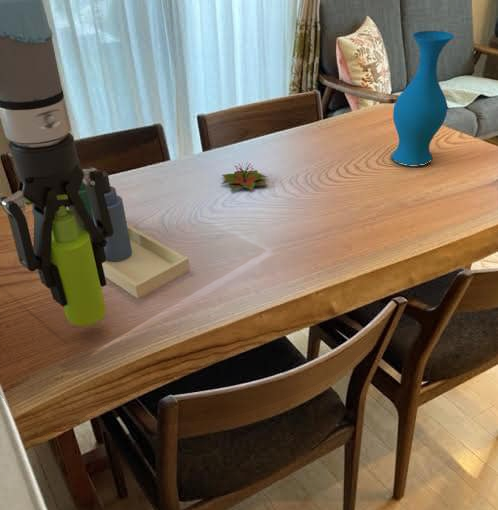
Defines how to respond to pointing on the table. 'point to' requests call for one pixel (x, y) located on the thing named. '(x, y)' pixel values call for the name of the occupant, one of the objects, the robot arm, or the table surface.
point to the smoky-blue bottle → (116, 225)
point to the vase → (421, 103)
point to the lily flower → (244, 179)
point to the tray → (146, 265)
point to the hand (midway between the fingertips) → (80, 291)
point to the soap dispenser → (76, 268)
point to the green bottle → (84, 199)
